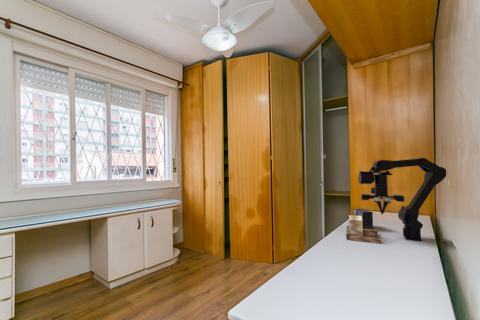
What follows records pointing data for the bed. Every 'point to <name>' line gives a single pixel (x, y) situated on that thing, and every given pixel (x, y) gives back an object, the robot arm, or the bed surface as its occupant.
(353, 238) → the bay
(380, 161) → the robot arm
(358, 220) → the pale wooden box
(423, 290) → the bed surface
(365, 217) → the small box
